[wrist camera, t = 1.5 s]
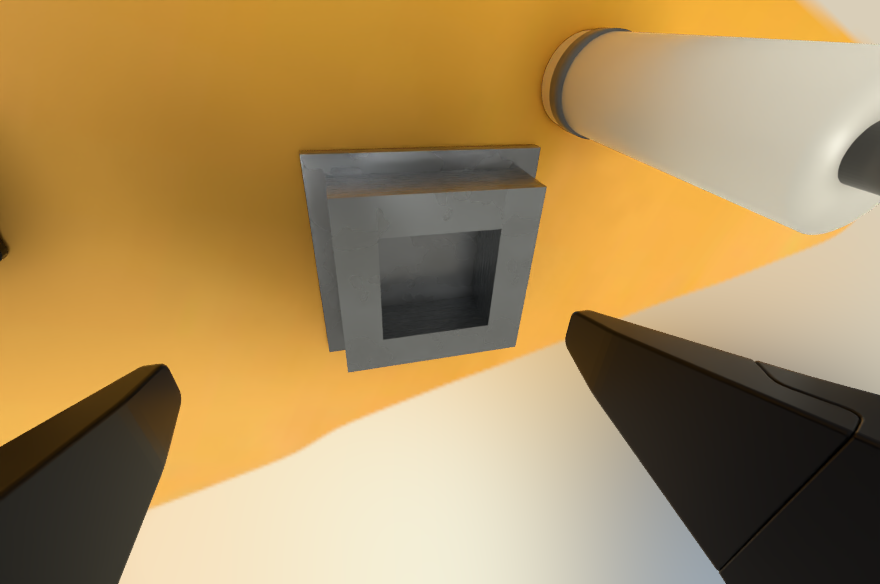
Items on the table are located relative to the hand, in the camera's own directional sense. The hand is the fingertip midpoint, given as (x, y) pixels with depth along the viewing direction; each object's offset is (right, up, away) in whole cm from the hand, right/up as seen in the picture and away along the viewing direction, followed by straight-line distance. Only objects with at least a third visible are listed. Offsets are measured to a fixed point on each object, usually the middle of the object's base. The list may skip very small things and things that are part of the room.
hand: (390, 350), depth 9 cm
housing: (0, +4, +14) cm, 15 cm away
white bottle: (+8, +12, +11) cm, 18 cm away
